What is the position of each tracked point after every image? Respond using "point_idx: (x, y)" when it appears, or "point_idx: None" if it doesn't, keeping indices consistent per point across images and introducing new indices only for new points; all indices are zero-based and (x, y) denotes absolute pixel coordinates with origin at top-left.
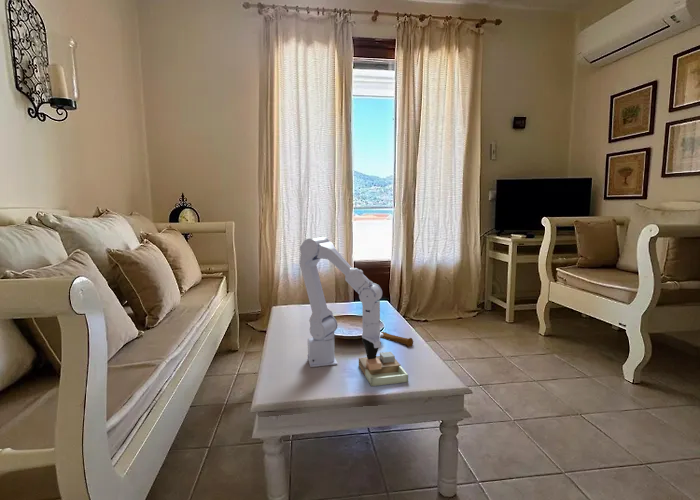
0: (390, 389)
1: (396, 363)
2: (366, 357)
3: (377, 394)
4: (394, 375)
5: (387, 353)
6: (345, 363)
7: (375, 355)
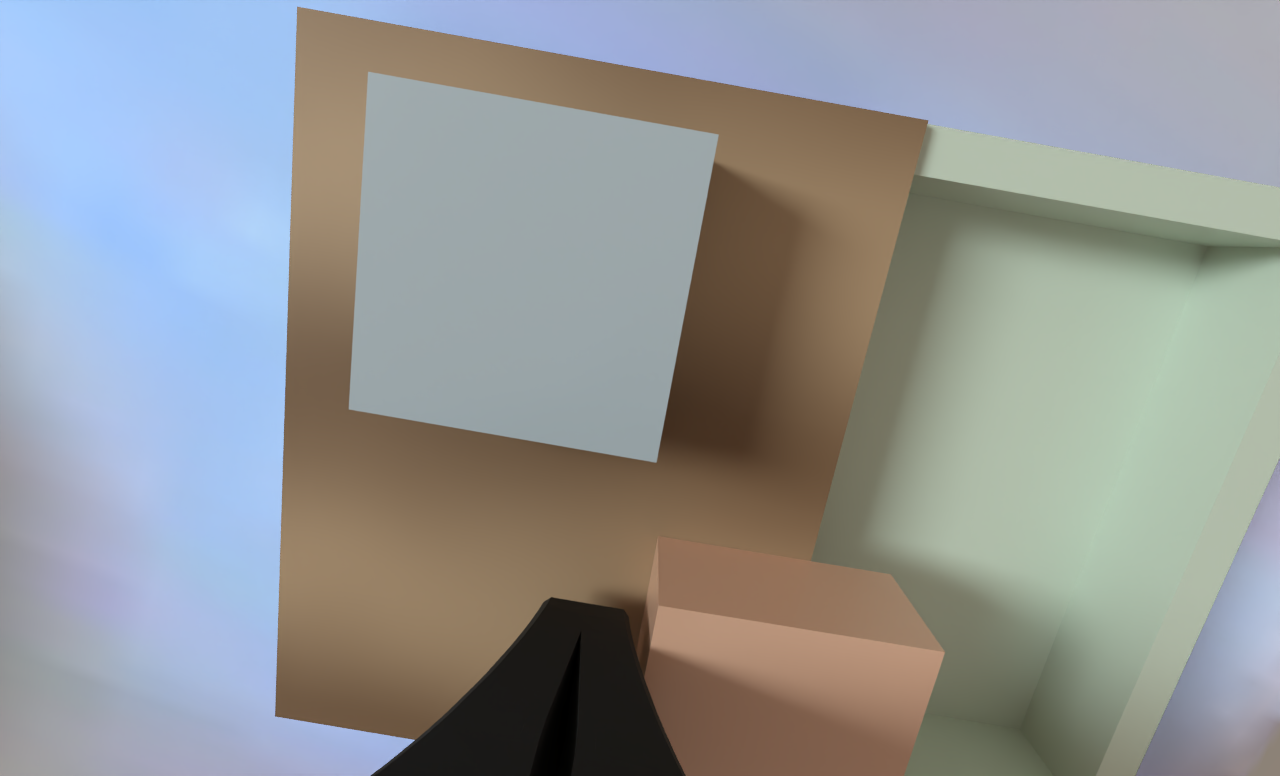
0: (1251, 572)
1: (810, 169)
2: (294, 592)
3: (1252, 765)
4: (1230, 473)
5: (470, 244)
6: (231, 755)
7: (647, 711)
